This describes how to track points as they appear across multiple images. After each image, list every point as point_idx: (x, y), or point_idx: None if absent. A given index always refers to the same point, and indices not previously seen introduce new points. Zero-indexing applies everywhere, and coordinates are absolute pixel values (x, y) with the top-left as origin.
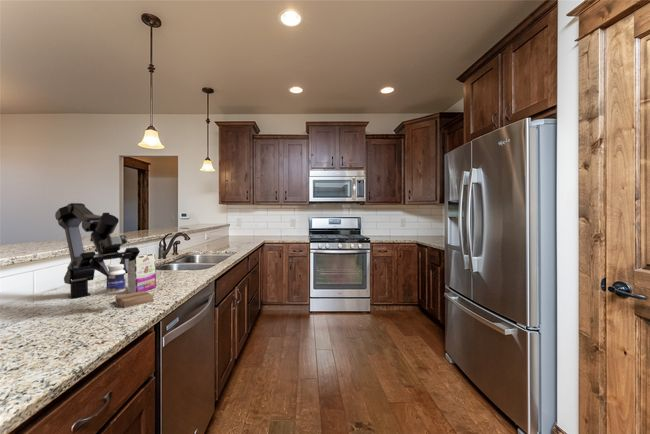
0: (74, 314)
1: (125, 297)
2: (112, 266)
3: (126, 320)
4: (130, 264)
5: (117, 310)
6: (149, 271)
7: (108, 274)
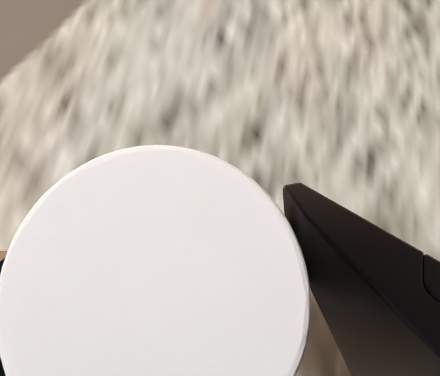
0: None
1: None
2: (248, 182)
3: (220, 16)
4: None
5: None
6: None
7: (298, 183)
